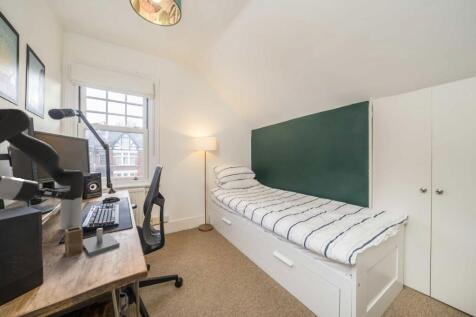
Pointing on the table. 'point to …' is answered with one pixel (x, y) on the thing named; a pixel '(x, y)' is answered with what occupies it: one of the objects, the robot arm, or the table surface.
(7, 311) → the table surface
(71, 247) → the sleeve
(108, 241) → the plate
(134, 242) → the table surface
